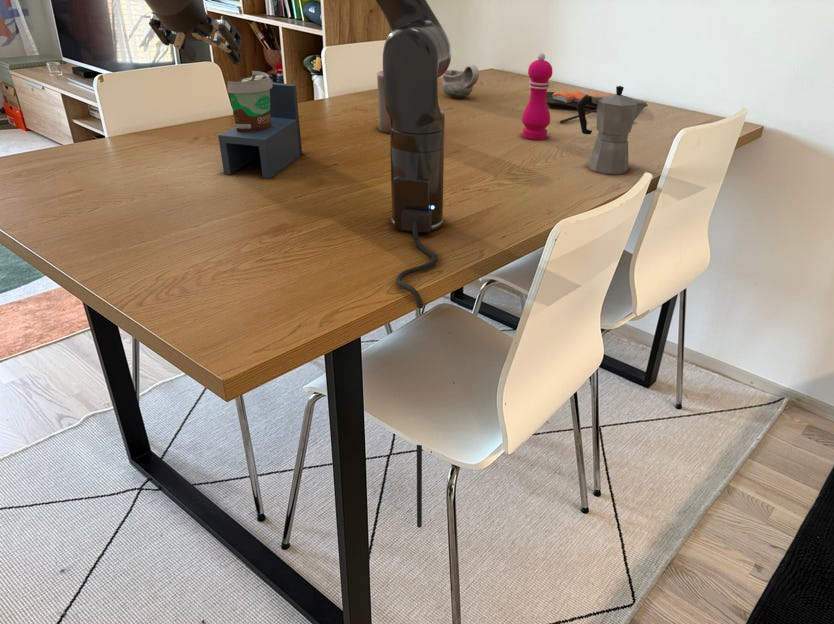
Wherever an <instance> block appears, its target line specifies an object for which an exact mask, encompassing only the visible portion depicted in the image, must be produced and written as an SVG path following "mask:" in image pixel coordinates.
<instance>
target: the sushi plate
mask: <svg viewBox="0 0 834 624" xmlns="http://www.w3.org/2000/svg"><path fill="white" fill-rule="evenodd" d="M607 95H614V93H613V94H612V93H604V94H601V93H591V94H584V93H582V92H580V91H578V90H572V91H569V92H568V91H565V90H558V91H547V92H546V103H547V106H548V107H552V108H558V109H559V108H561V109H572V110H577V103H578V102H579V101H580V100H581V99H582V98H583V97H584V96H598V97H601V96H607ZM584 108H585V116H587V115H589V114H592V113H594V114H597V106H592V105H585V106H584ZM577 118H578V119H579V115H578V114H576V115H574V116H570V117H567V118H564V119H562V120H561V119H560V121H559V123H560V124H564V123H567V122H570V121H572V120H574V119H577Z"/></svg>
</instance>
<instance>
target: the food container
mask: <svg viewBox="0 0 834 624" xmlns="http://www.w3.org/2000/svg"><path fill="white" fill-rule="evenodd" d="M272 83H273V82H272V78H270V75H269V74H268V73H267V72H263V71H259V70H258V71H257V70H251V75H250V76H248V77H242V78H239V80H237V81H228V80H227V86H226V88H227V93H228V94H229V99H230V103H231V109H232V114H233V119H234V124H235V125H234V126H236V130H237V132H257V131H263V130H266V129H269V128H270V127H271V113H270V89H271V88H272V87H273V85H272Z"/></svg>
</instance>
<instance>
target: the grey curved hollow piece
mask: <svg viewBox="0 0 834 624" xmlns="http://www.w3.org/2000/svg"><path fill="white" fill-rule="evenodd" d="M479 77H480V70H479V68H478V66H476V65H474V64H468V65H466V66H465V67H464V69H463V70H459V69H447V71H446V72H445V73H444V74H443V75H442V79H443V80H442V83H441V84H442V85H441V87H442V90H443V93H444V94H445V95H446V96H448V97H451V98H456V99H457V98H458V99H459V98H460V99H461V98H466V97H467V96H469V95H470V94H471V93H472V91H473V87H474V86H475V85H476V84H477V82H478V80H479Z"/></svg>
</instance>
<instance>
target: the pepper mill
mask: <svg viewBox="0 0 834 624" xmlns="http://www.w3.org/2000/svg"><path fill="white" fill-rule="evenodd" d="M545 59H546V55H545V53H544V52H540V53H538V55H537V59H536V60H534V61H532V62H531V63H530V64H529V66H528V69H527V74H528V77H529V79H530V80H529V81H528V83H529V84H528V87H529V89H530V92H529V93H530V95H529V100H528V102H527V104H526V106H525V108H524V110H523V112H522V116H521V122H522V124H523V126H524V127H523V128H522V137H523V138H524V139H526V140H533V141H543V140H545V139H547V138H548V130H547V129H546V128H547V127H548V126H549V125H550V123H551V113H550V110H549V106H548V104H547V103H546V92H548V89H549V88H550V81H549V80H550V79H551V78H552V76H553V67H552V64H551V63H550V62H549V61H547V60H545Z"/></svg>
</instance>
